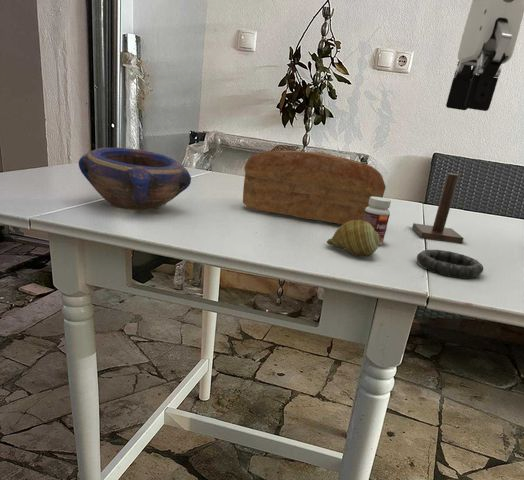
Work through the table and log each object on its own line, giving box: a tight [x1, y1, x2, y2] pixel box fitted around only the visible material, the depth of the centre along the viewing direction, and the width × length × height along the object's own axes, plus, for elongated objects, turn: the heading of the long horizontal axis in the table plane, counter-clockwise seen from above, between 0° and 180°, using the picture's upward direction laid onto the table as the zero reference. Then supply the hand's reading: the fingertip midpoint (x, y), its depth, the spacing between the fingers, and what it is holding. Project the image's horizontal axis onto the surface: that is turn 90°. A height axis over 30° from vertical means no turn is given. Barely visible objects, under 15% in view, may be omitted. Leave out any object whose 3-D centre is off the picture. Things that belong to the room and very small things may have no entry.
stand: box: [411, 172, 464, 244], centre depth 110 cm, size 9×9×13 cm
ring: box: [416, 249, 484, 279], centre depth 88 cm, size 11×11×2 cm
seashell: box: [326, 220, 382, 258], centre depth 89 cm, size 10×7×8 cm
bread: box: [242, 149, 386, 226], centre depth 111 cm, size 12×31×14 cm, turn 78°
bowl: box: [78, 147, 192, 211], centre depth 98 cm, size 18×18×10 cm
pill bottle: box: [363, 197, 392, 246], centre depth 97 cm, size 5×5×8 cm
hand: (465, 109), depth 73 cm, fingers open, 9 cm apart
